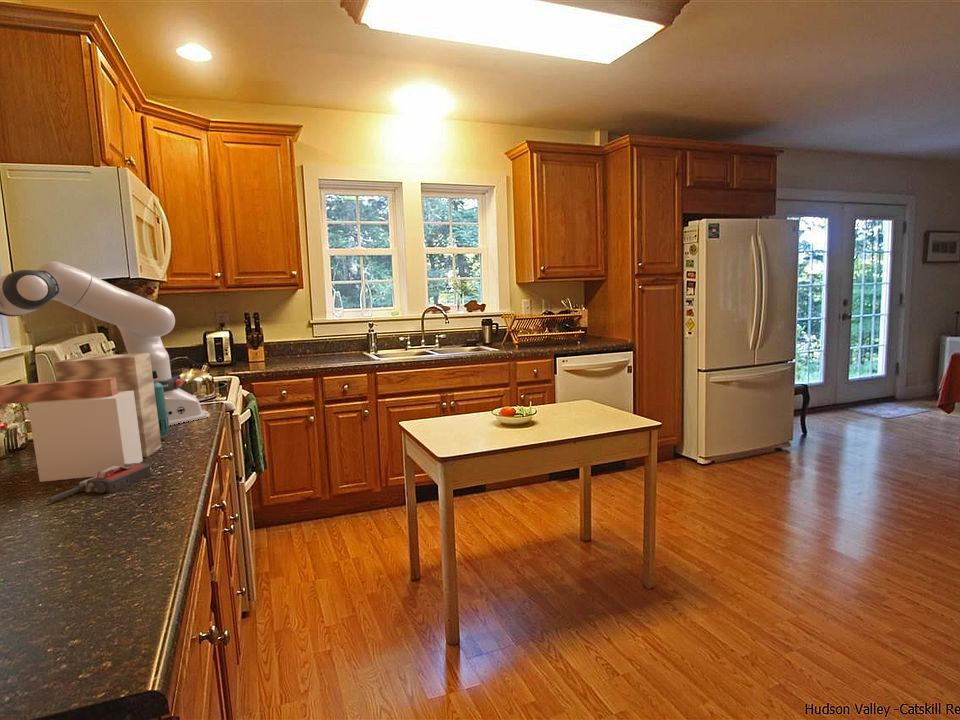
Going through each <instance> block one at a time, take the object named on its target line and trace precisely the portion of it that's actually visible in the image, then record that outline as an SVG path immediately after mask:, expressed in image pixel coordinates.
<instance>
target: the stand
mask: <svg viewBox="0 0 960 720" xmlns="http://www.w3.org/2000/svg"><path fill="white" fill-rule="evenodd" d="M53 364H54V369H55V377H56V381H71V380H86V379H100V378H115V377H116V384H117V391H118V392H120V391H134V397H135V405H136V412H137V420H138V428H139V435H140V443H141V451H142V458H143V457H145V458H149V457H150V456H152V454H154V453H155V452H157V451H158V450H159V449H161V448H162V440H161V436H160V430H159V422H158V414H157V406H156V398H155V390H154V382H153V374H152V367H151V359H150V353H137V354H128V353H123V354H108V355H107V354H106V355H93V356H92V355H91V356H76V357H71V358H67V359H63V360H62V359H61V360H58V361H54V362H53ZM143 459H144V458H143Z"/></svg>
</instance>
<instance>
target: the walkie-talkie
mask: <svg viewBox="0 0 960 720" xmlns="http://www.w3.org/2000/svg"><path fill="white" fill-rule="evenodd" d="M124 465H125V466H112V467H109V468H107V469H104V470H102V471H99V472H98V474H97V476H94V477H89V478H88V479H85V480H82V481H80V482H79V483H78V485H77V486H75V487H73V488H71V489H68V490H66V491H62V492H61V493H58V494H54V495H52V496H49V497H48V498H47V502H48V503H52V502H53V503H54V502H55V501H58V500H61V499H63V498H65V497H68V496H71V495H72V494H75V493H77V492H79V493H80V492H82V491H83V492H86V493H100V494H103V493H109V494H110V493H115V492H117V491H119V490H121V488H122V489H124V488H125V487H129V486H130V485H133V484H135V483H137V482H140V481H142V480H144V479H146V477H147V478H149V477H151V476H152V473H151V472H152V471H151V466H150V464H149V463H146V462H143V463H142V462H140V463H124ZM115 469H116V470H115ZM114 491H115V492H114Z"/></svg>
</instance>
